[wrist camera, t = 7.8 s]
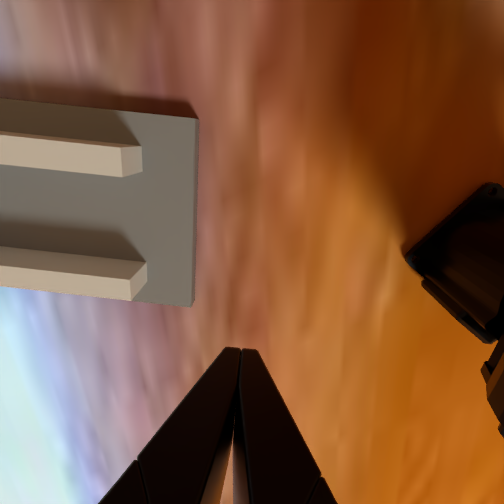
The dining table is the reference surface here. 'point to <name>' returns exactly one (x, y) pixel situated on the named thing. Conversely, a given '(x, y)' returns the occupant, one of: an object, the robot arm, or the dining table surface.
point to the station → (98, 202)
